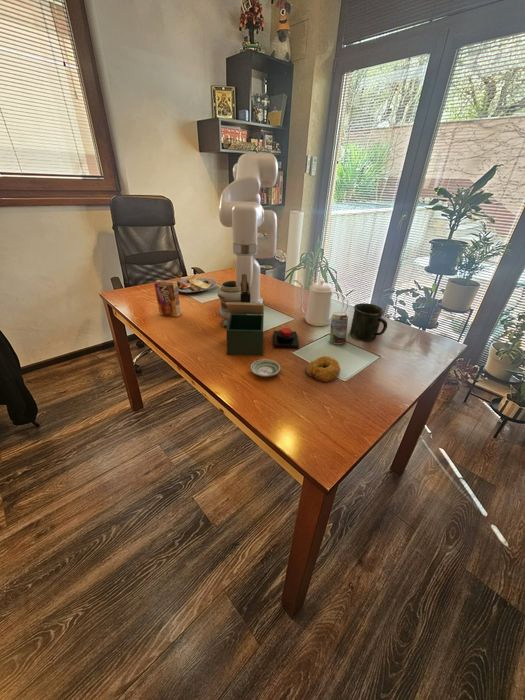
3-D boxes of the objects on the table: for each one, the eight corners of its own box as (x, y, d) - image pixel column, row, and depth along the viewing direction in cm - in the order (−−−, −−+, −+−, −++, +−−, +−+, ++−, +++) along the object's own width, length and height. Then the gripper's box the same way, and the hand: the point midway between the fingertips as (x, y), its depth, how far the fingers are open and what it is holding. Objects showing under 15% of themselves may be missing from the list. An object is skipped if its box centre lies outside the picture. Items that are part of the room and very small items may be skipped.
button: (291, 337, 110) (291, 332, 109) (281, 336, 110) (281, 332, 109) (290, 332, 113) (291, 328, 112) (280, 331, 113) (280, 327, 112)
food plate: (164, 286, 165) (163, 280, 163) (200, 278, 179) (199, 273, 177) (187, 298, 150) (186, 292, 148) (224, 289, 163) (223, 283, 162)
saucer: (282, 366, 98) (282, 360, 96) (277, 384, 90) (277, 377, 88) (254, 362, 99) (254, 356, 98) (247, 379, 91) (247, 372, 90)
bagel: (304, 364, 100) (306, 352, 97) (337, 366, 99) (339, 354, 96) (305, 381, 91) (307, 368, 89) (341, 384, 90) (343, 371, 88)
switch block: (298, 348, 108) (299, 340, 106) (274, 348, 108) (274, 340, 106) (295, 335, 118) (296, 327, 116) (273, 334, 118) (274, 326, 116)
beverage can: (336, 348, 109) (341, 319, 103) (324, 339, 115) (328, 311, 109) (349, 344, 112) (354, 315, 106) (336, 336, 118) (341, 308, 111)
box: (262, 355, 104) (263, 331, 99) (227, 354, 104) (226, 330, 99) (263, 337, 115) (263, 314, 110) (231, 336, 115) (230, 314, 110)
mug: (360, 327, 125) (365, 301, 119) (389, 341, 115) (397, 313, 109) (343, 333, 120) (348, 306, 113) (372, 348, 109) (380, 320, 103)
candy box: (181, 313, 134) (177, 281, 126) (177, 317, 130) (172, 284, 122) (163, 311, 135) (158, 279, 127) (159, 315, 131) (153, 282, 124)
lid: (263, 305, 96) (263, 303, 96) (225, 304, 96) (225, 302, 96) (263, 314, 110) (263, 312, 110) (230, 313, 110) (230, 311, 110)
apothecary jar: (213, 326, 123) (210, 285, 113) (228, 316, 132) (226, 277, 123) (238, 332, 118) (237, 290, 109) (251, 321, 128) (252, 281, 118)
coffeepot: (294, 311, 138) (297, 272, 129) (346, 323, 129) (354, 281, 119) (285, 319, 130) (288, 278, 120) (340, 332, 120) (348, 289, 111)
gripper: (235, 243, 97) (236, 296, 106) (230, 253, 84) (232, 312, 93) (257, 244, 97) (257, 296, 106) (256, 254, 84) (255, 313, 93)
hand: (245, 303), depth 100 cm, fingers closed
